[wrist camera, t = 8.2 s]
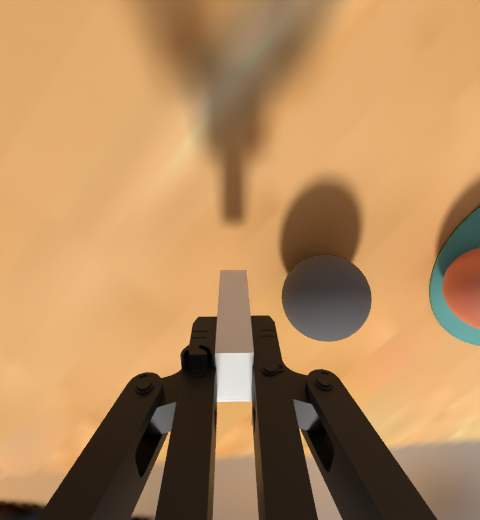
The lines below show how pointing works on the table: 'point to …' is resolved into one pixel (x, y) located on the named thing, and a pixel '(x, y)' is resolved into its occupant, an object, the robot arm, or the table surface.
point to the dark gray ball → (326, 298)
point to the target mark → (461, 241)
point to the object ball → (464, 287)
